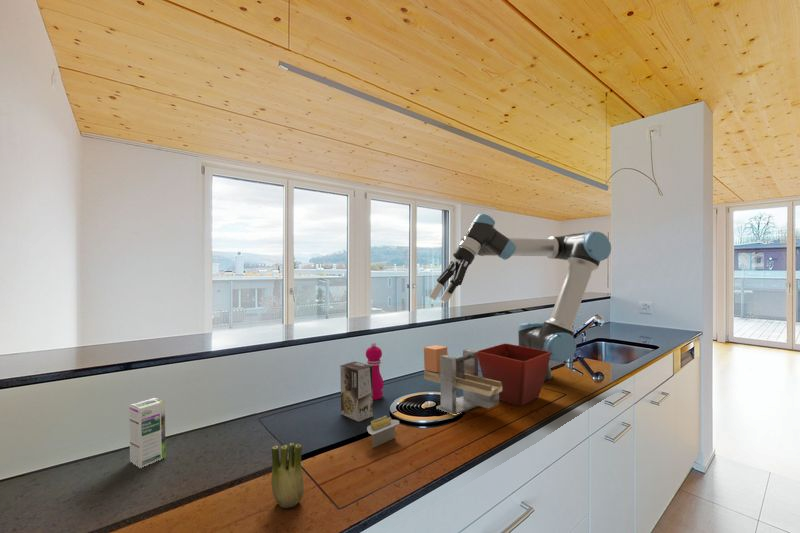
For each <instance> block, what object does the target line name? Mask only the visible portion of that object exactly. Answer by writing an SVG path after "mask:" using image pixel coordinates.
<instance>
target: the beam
mask: <svg viewBox="0 0 800 533" xmlns="http://www.w3.org/2000/svg"><path fill="white" fill-rule="evenodd" d="M455 358H456V389H460V390H462V391H463V390H467V391H471V392H474V393H475V405H478V406H477V407H482V408H485V409H488V410H489V409H490V408H492V407H495V406H497V405H499V404H500V400H499V392H502V382H500V381H496V380H491V379H487V378H483V376H482V377H481V376H479V375H478V376H474V375H469V374H465V372H464V360H467V359H470V356H469V355H466V356H463V355H462V356H460V357H455ZM423 379H424V380H426V381H429V382H434V383H437V384H441V381H440V373H436V372H432V371H428V370H425V369H424V370H423Z"/></svg>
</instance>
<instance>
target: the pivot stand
mask: <svg viewBox="0 0 800 533" xmlns="http://www.w3.org/2000/svg"><path fill="white" fill-rule="evenodd" d="M478 351H479V350H472V349H468V348H466V349H463V350H462V357H463V356H466V355H469V356H470V359H467V360H464V372H465V374H469V375H474V376H478V377H479V358H478ZM447 355H448V354H447ZM447 355H442V356H440V381H441V383H440V404H439V405H437V406H436V410H438V409H439V410H438V411H440V410H441V411H440V412H443V411H444V412H443V413H445V412H447V413H446V414H448V413H451V414H457V413H460V412H464V413H466V412H468V411H470V410H472V409H475V408H476V407H479V406H478V405H475V393H474V392H471V391H467V390H463V389H462V396H459V397H457V388H456V358H457V357H454V356H450V355H448V356H447Z"/></svg>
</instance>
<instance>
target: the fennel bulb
mask: <svg viewBox="0 0 800 533" xmlns="http://www.w3.org/2000/svg"><path fill="white" fill-rule="evenodd" d="M302 449H303V446H302V445H301V444H299V443H298V444H295V443H293V442H290V443H289V450H288V445H287V444H285V445H282V446H280V451H279V446H278V445H275V446H272V447H271V454H272V456H271V457H272V458H271V460H272V462H271V463H272V467H271V489H272V490H271V491H272V496H273V497H274V500H275V502H276V504H278V506H279V507H280V508H282V509H292V508H294V507H295V506H297V505H298V503H299V502H300V501H301V500H302V499H303V496H304V494H305V493H304V492H305V484H304V483H305V480H304V475H303V470H302V469H303V468H302Z"/></svg>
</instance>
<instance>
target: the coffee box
mask: <svg viewBox="0 0 800 533" xmlns="http://www.w3.org/2000/svg"><path fill="white" fill-rule="evenodd" d="M372 367H373V366H371V365H368V364H367V363H363V362H359V361H351V362H348V363H345V364H342V365H341V364H340V366H339V369H340V411H341V412H340V414H341V416H344V417H347V418H349V419H351V420H354V421H356V422H362V421H364V420H367V419H369V418H372V417H373V416H374V412H373V411H374V410H373V408H374V406H373V405H374V404H373V402H374V400H373V381H372Z"/></svg>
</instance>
